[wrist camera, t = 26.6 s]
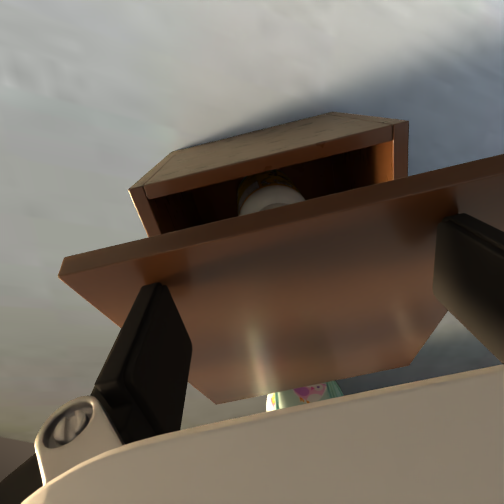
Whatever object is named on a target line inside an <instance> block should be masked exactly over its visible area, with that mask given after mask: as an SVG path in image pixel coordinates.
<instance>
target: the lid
mask: <svg viewBox="0 0 504 504" xmlns="http://www.w3.org/2000/svg"><path fill="white" fill-rule="evenodd" d="M461 213H466V214H468V215H470V216H472V217H474V218H476V219H478V220H481V221H483V222H485V223H487V224H489V225H491V226H493V227H495V228H497V229H499V230H501V231H503V232H504V154H501V155H497V156H493V157H488V158H484V159H480V160H476V161H471V162H467V163H463V164H459V165H454V166H450V167H446V168H442V169H437V170H433V171H429V172H425V173H421V174H416V175H412V176H408V177H404V178H399V179H395V180H391V181H387V182H382V183H378V184H374V185H370V186H365V187H361V188H357V189H353V190H348V191H344V192H340V193H336V194H331V195H327V196H323V197H319V198H314V199H310V200H306V201H302V202H297V203H293V204H289V205H285V206H280V207H276V208H272V209H268V210H263V211H259V212H255V213H251V214H246V215H242V216H238V217H234V218H229V219H225V220H221V221H217V222H212V223H208V224H204V225H200V226H195V227H191V228H187V229H183V230H178V231H174V232H170V233H166V234H161V235H157V236H153V237H149V238H144V239H140V240H136V241H132V242H127V243H123V244H119V245H115V246H110V247H106V248H102V249H98V250H93V251H89V252H85V253H81V254H76V255H72V256H68V257H65V258H64V260H63V262H62V265H61V268H60V271H59V274H58V278H59V279H61V280H62V281H63V282H64V283H66V284H67V285H68V286H69V287H71V288H72V289H73V290H74V291H76V292H77V293H78V294H79V295H81V296H82V297H83V298H84V299H86V300H87V301H88V302H89V303H91V304H92V305H93V306H94V307H96V308H97V309H98V310H99V311H100V312H102V313H103V314H104V315H105V316H107V317H108V318H109V319H110V320H112V321H113V322H114V323H115V324H117V325H118V326H119V327H120V328H122V326H123V324H124V322H125V320H126V318H127V316H128V314H129V312H130V310H131V308H132V306H133V303H134V301H135V299H136V297H137V295H138V293H139V291H140V289H141V287H142V286H144V285H148V284H153V283H157V282H159V283H161V284H162V286H163V285H166V286H167V287H168V289H169V291H170V293H171V296H172V298H173V300H174V303H175V305H176V307H177V309H178V312H179V314H180V316H181V319H182V321H183V323H184V325H185V328H186V330H187V332H188V335H189V337H190V339H191V342H192V349H193V350H192V357H191V363H190V370H189V376H188V382H189V383H190V384H191V385H192V386H194V387H195V388H196V389H197V390H199V391H200V392H201V393H202V394H204V395H205V396H206V397H207V398H209V399H210V400H211V401H212V402H214V403H215V404H216V405H217V404H222V403H227V402H232V401H237V400H242V399H246V398H251V397H256V396H261V395H266V394H271V393H276V392H281V391H286V390H291V389H296V388H300V387H305V386H310V385H315V384H320V383H325V382H330V381H335V380H340V379H345V378H350V377H354V376H359V375H364V374H369V373H374V372H379V371H384V370H389V369H394V368H399V367H404V366H408V365H410V363H411V362H412V361H413V359H414V358H415V356H416V355H417V354H418V352H419V351H420V349H421V348H422V346H423V345H424V344H425V342H426V341H427V339H428V338H429V337H430V335H431V334H432V332H433V331H434V330H435V328H436V327H437V325H438V324H439V323H440V321H441V320H442V318H443V317H444V316H445V314H446V313H447V311H448V310H447V309H446V308H445V307H444V306H443V305H442V304H441V303H440V302H439V301H438V300H437V299H436V298H435V296H434V294H433V290H432V286H433V273H434V260H435V247H436V234H437V226H438V224H439V223H441V222H442V220H443V218H445V217H448V216H452V215H457V214H461Z"/></svg>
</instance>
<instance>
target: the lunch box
mask: <svg viewBox="0 0 504 504" xmlns="http://www.w3.org/2000/svg"><path fill="white" fill-rule="evenodd" d="M341 396H344V395H343V393H342V391H341V389H340V387H339V386H338V384H337V383H336V382H335V381H330V382H325V383H320V384H315V385H310V386H305V387H300V388H296V389H291V390H286V391H281V392H276V393H271V394H268V396H267V406H266V411H267V412H268V411H273V410H278V409H282V408H287V407H292V406H297V405H302V404H307V403H311V402H316V401H321V400H326V399H331V398H336V397H341Z"/></svg>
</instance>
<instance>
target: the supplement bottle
mask: <svg viewBox="0 0 504 504" xmlns="http://www.w3.org/2000/svg"><path fill="white" fill-rule="evenodd" d="M302 201H306V200H305V199H304V198H303V196H302V195H301V193H300V192H299V191H298V189H297V188H296V187H295V186H294V184H293V183H292V181H291V180H290V179H289V178H288V176H287V175H285V174H284V173H283V172H281V171H280V170H277V169H274V170H270V171H266V172H262V173H258V174H253V175H249V176H245V177H244V178H243V180H242V181H241V183H240V185H239V187H238V191H237V210H238V216H242V215H246V214H251V213H255V212H259V211H263V210H268V209H272V208H276V207H280V206H285V205H289V204H293V203H297V202H302Z"/></svg>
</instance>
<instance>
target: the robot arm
mask: <svg viewBox="0 0 504 504" xmlns="http://www.w3.org/2000/svg"><path fill="white" fill-rule="evenodd" d="M432 290H433V294H434V296H435V298H436V299H437V300H438V301H439V302H440V303H441V304H442V305H443V306H444V307H445V308H446V309H447V310H448V311H449V312H450V313H451V314H452V315H454V316H455V317H456V318H457V319H458V320H459V321H460V322H461V323H462V324H463V325H464V326H465V327H466V328H467V329H468V330H469V331H470V332H471V333H472V334H473V335H474V336H475V337H476V338H477V339H478V340H479V341H480V342H481V343H482V344H483V345H484V346H485V347H486V348H487V349H488V350H489V351H490V352H491V353H492V354H493V355H495V356H496V357H497V358H498V359H499V360H500V361H501V362H502V363H503V364H502V365H497V366H492V367H487V368H482V369H477V370H472V371H467V372H461V373H456V374H451V375H446V376H441V377H436V378H431V379H426V380H421V381H416V382H411V383H406V384H401V385H396V386H391V387H386V388H381V389H376V390H371V391H366V392H361V393H356V394H351V395H346V396H341V397H336V398H331V399H326V400H321V401H316V402H311V403H307V404H302V405H297V406H292V407H287V408H282V409H278V410H273V411H268V412H263V413H258V414H253V415H249V416H244V417H239V418H234V419H229V420H224V421H220V422H215V423H211V424H206V425H202V426H197V427H193V428H189V429H184V430H180V427H181V421H182V414H183V408H184V402H185V395H186V389H187V383H188V376H189V370H190V363H191V357H192V350H193V349H192V342H191V339H190V337H189V335H188V332H187V330H186V328H185V325H184V323H183V321H182V319H181V316H180V314H179V312H178V309H177V307H176V305H175V303H174V300H173V298H172V296H171V293H170V291H169V289H168V287H167V286H166V285H163V286H162V284H161V283H159V282H157V283H153V284H148V285H144V286H142V287H141V289H140V291H139V293H138V295H137V297H136V299H135V301H134V303H133V306H132V308H131V310H130V312H129V314H128V316H127V318H126V320H125V322H124V324H123V326H122V328H121V330H120V333H119V335H118V337H117V339H116V341H115V343H114V345H113V347H112V349H111V351H110V353H109V355H108V357H107V359H106V362H105V364H104V366H103V368H102V370H101V372H100V374H99V376H98V378H97V380H96V382H95V384H94V385H95V387H94V389H93V391H92V393H91V395H90V396H89V395H87V396H80V397H77V398H75V399H72V400H70V401H69V402H67V403H65V404H64V405H62V406H61V407H59V408H58V409H57V410H56V411H55V412H53V413H52V414H51V416H50V417H49V418H48V419H47V420H46V421H45V422H44V424H43V425H42V427H41V428H40V430H39V432H38V434H37V437H36V440H35V450H36V453H35V454H34V455H33V456H31V457H30V458H29V459H28V460H27V461H25V462H24V463H23V464H22V465H20V466H19V467H18V468H17V469H16V470H15V471H13V472H12V473H11V474H10V475H8V476H7V477H6V478H5V479H3V480H2V481H1V482H0V504H504V232H503V231H501V230H499V229H497V228H495V227H493V226H491V225H489V224H487V223H485V222H483V221H481V220H478V219H476V218H474V217H472V216H470V215H468V214H466V213H461V214H457V215H452V216H448V217H445V218H443V220H442V222H441V223H439V224H438V226H437V234H436V247H435V260H434V273H433V286H432Z"/></svg>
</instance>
